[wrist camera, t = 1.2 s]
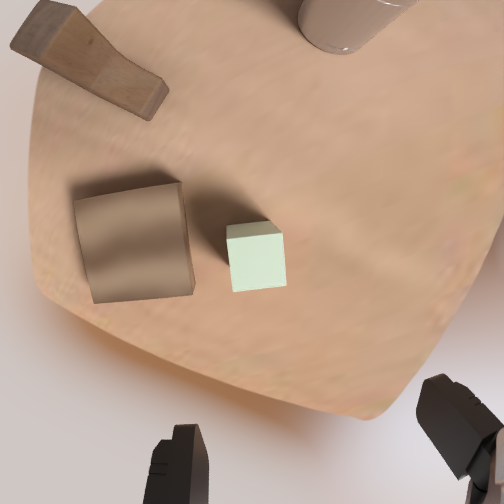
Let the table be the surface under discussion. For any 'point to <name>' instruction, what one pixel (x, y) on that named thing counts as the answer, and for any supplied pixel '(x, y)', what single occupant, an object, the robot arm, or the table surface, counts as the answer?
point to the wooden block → (87, 58)
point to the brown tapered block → (136, 244)
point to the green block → (256, 256)
